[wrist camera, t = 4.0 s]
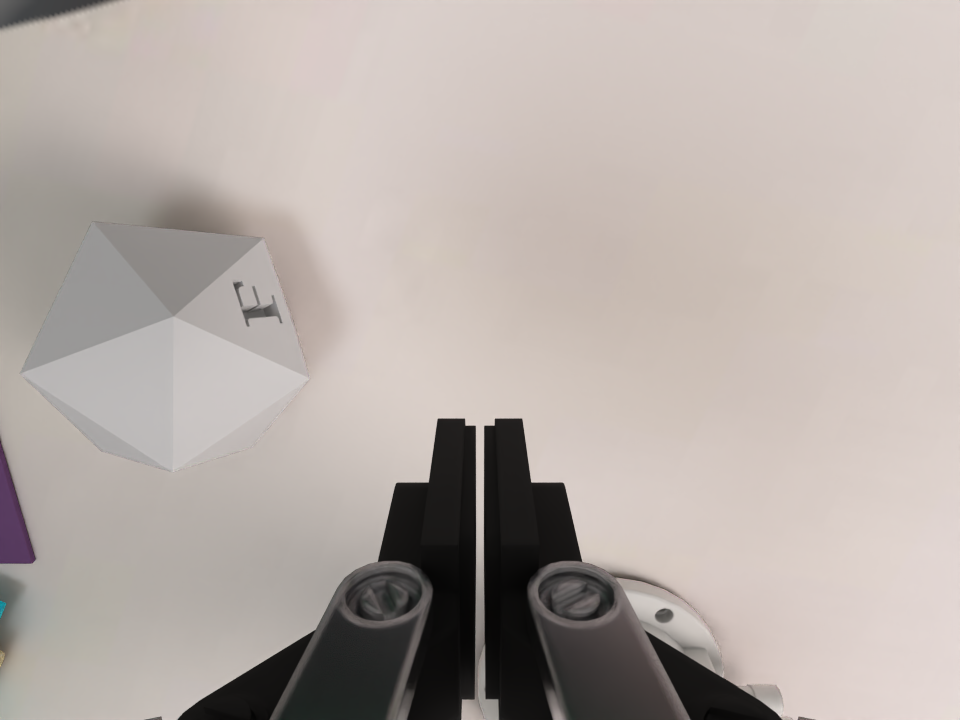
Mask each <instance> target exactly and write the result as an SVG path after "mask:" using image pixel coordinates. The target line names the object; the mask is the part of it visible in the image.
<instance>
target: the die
mask: <svg viewBox="0 0 960 720" xmlns="http://www.w3.org/2000/svg"><path fill="white" fill-rule="evenodd" d="M20 374H21V375H22V376H23V377H24V378H25V379H26V380H27V381H28V382H29V383H30V384H31V385H32V386H33V387H34V388H35V389H36V390H37V391H38V392H40V393H41V394H42V395H43V396H44V397H45V398H46V399H47V400H48V401H49V402H50V403H51V404H52V405H53V406H54V407H55V408H56V409H57V410H58V411H60V412H61V413H62V414H63V415H64V416H65V417H66V418H67V419H68V420H69V421H70V422H71V423H72V424H73V425H74V426H75V427H76V428H77V429H79V430H80V431H81V432H82V433H83V434H84V435H85V436H86V437H87V438H88V439H89V440H90V441H91V442H92V443H93V444H94V445H95V446H96V447H98V448H99V449H100V450H101V451H103V452H106V453H109V454H113V455H116V456H119V457H123V458H126V459H129V460H133V461H136V462H140V463H143V464H146V465H150V466H153V467H156V468H160V469H163V470H167V471H170V472H175V471H179V470H182V469H185V468H188V467H191V466H195V465H198V464H201V463H204V462H207V461H211V460H214V459H217V458H220V457H224V456H227V455H230V454H233V453H236V452H240V451H243V450H246V449H249V448H252V447H253V446H254V445H255V444H256V443H257V441H258V440H259V439H260V438H261V437H262V435H263V434H264V433H265V432H266V431H267V429H268V428H269V427H270V426H271V425H272V423H273V422H274V421H275V420H276V419H277V417H278V416H279V415H280V414H281V413H282V411H283V410H284V409H285V408H286V407H287V406H288V404H289V403H290V402H291V401H292V400H293V398H294V397H295V396H296V395H297V394H298V392H299V391H300V390H301V389H302V388H303V386H304V385H305V384H306V383H307V382H308V380H309V379H310V376H309V373H308V369H307V366H306V362H305V359H304V355H303V352H302V348H301V345H300V341H299V338H298V334H297V331H296V327H295V325H294V322H293V319H292V316H291V313H290V310H289V307H288V305H287V302H286V299H285V296H284V293H283V290H282V288H281V285H280V282H279V279H278V276H277V273H276V270H275V268H274V265H273V262H272V259H271V256H270V253H269V251H268V248H267V245H266V242H265V239H264V238H259V237H249V236H238V235H228V234H218V233H208V232H197V231H187V230H177V229H167V228H156V227H146V226H136V225H126V224H115V223H105V222H95V221H92V223H91V225H90V227H89V229H88V232H87V234H86V236H85V238H84V240H83V242H82V244H81V246H80V248H79V250H78V253H77V255H76V257H75V259H74V261H73V263H72V265H71V267H70V269H69V271H68V274H67V276H66V278H65V280H64V282H63V284H62V286H61V288H60V290H59V292H58V295H57V297H56V299H55V301H54V303H53V305H52V307H51V309H50V311H49V313H48V316H47V318H46V320H45V322H44V324H43V326H42V328H41V330H40V332H39V334H38V337H37V339H36V341H35V343H34V345H33V347H32V349H31V351H30V353H29V355H28V358H27V360H26V362H25V364H24V366H23V368H22V370H21V372H20Z"/></svg>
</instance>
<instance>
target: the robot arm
mask: <svg viewBox="0 0 960 720" xmlns="http://www.w3.org/2000/svg"><path fill="white" fill-rule="evenodd" d="M475 604H476V426H465V419H438V421H437V428H436V435H435V442H434V449H433V457H432V464H431V471H430V478H429V483H396V486H395V489H394V493H393V498H392V502H391V506H390V511H389V515H388V520H387V524H386V528H385V533H384V537H383V541H382V546H381V550H380V555H379V559H378V562H376V563H371V564H368V565H365V566H363V567H361V568H359V569H356V570H355V571H353V572H352V573H351V574H349V575H348V576H347V577H345V578H344V580H343V581H342V582H341V584H340V585H339V586H338V588H337V590H336V592H335V594H334V596H333V598H332V599H331V601H330V603H329V605H328V607H327V609H326V611H325V613H324V615H323V617H322V619H321V621H320V623H319V625H318V627H317V629H316V630H314V631H313V632H311V633H309V634H308V635H306V636H305V637H303V638H301V639H300V640H298V641H296V642H295V643H293V644H292V645H290V646H288V647H287V648H285V649H283V650H282V651H280V652H278V653H277V654H275V655H274V656H272V657H270V658H269V659H267V660H265V661H264V662H262V663H260V664H259V665H257V666H256V667H254V668H252V669H251V670H249V671H247V672H246V673H244V674H242V675H241V676H239V677H238V678H236V679H234V680H233V681H231V682H229V683H228V684H226V685H224V686H223V687H221V688H220V689H218V690H216V691H215V692H213V693H211V694H210V695H208V696H206V697H205V698H203V699H202V700H200V701H199V702H197V703H196V704H195V705H193V706H192V707H191V708H189V709H188V710H187V711H185V712H184V713H183V714H182V715H181V716H180V717H179V719H178V720H461V709H462V699H475ZM484 605H485V644H484V646H483V650H482V653H481V656H480V659H479V664H478V682H477V684H478V700H479V704H480V707H481V710H482V713H483V716H484V718H485V720H793V719H792V718H790V717H787V716H782V714H783V709H784V705H783V699H782V695H781V693H780V690H779V689H778V687H777V686H776V685H747V686H736V685H734V684H732V683H731V682H729V681H727V680H726V679H724V665H723V661H722V658H721V654H720V650H719V648H718V645H717V643H716V641H715V639H714V637H713V635H712V633H711V630H710V628H709V627H708V626H707V624H706V623H705V622H704V620H703V619H702V618H701V616H700V615H699V613H698V612H696V611H695V610H694V609H693V608H692V607H691V606H689V605H688V604H687V603H686V602H685V601H684V600H682V599H681V598H679V597H677V596H675V595H674V594H672V593H670V592H668V591H666V590H665V589H662V588H659V587H656V586H653V585H651V584H648V583H645V582H642V581H635V580H629V579H623V578H615V577H613V576H612V575H611V574H609V573H608V572H607V571H605V570H604V569H601V568H599V567H597V566H595V565H592V564H589V563H584V562H582V559H581V555H580V550H579V546H578V541H577V537H576V533H575V528H574V524H573V520H572V515H571V511H570V506H569V502H568V498H567V493H566V489H565V486H564V483H531V478H530V471H529V464H528V457H527V449H526V442H525V435H524V428H523V421H522V419H495V426H484ZM146 720H162V717H156V718H151V719H146ZM798 720H814V719H809V718H804V717H798Z"/></svg>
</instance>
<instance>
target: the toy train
mask: <svg viewBox="0 0 960 720" xmlns="http://www.w3.org/2000/svg"><path fill="white" fill-rule="evenodd" d="M5 606H6V603H5V602H2V601H0V618H1V615H2V613H3V611H4V608H5ZM4 657H5V654H4V652H3V651H1V650H0V667H1V665H2V663H3V660H4Z"/></svg>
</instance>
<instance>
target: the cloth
mask: <svg viewBox="0 0 960 720" xmlns="http://www.w3.org/2000/svg"><path fill="white" fill-rule="evenodd" d="M34 561H35V557H34V553H33V550H32V547H31V543H30V540H29V537H28V533H27V530H26V526H25V523H24V520H23V516H22V513H21V510H20V506H19V503H18V500H17V496H16V493H15V489H14V486H13V483H12V479H11V476H10V473H9V469H8V466H7V463H6V459H5V456H4V452H3V449H2V446H1V442H0V563H22V564H31V563H33V562H34Z"/></svg>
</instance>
